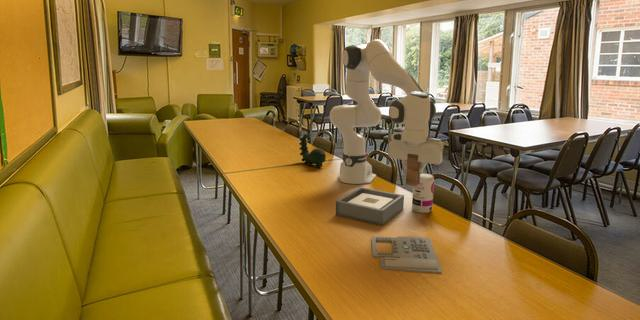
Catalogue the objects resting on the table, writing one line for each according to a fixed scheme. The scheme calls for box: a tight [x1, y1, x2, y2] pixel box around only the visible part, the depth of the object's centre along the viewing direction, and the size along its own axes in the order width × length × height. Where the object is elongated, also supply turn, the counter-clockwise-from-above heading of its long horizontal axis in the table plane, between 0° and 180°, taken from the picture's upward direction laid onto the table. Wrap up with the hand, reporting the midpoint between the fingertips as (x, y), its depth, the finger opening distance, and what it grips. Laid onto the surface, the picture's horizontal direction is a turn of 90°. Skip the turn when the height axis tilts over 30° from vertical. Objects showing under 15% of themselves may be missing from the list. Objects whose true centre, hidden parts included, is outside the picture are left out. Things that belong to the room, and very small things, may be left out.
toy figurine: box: [298, 133, 327, 169], centre depth 239 cm, size 9×19×25 cm
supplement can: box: [411, 172, 435, 214], centre depth 167 cm, size 8×8×15 cm
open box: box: [335, 186, 405, 227], centre depth 166 cm, size 22×20×6 cm
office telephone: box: [371, 235, 443, 274], centre depth 130 cm, size 23×3×20 cm
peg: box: [405, 154, 422, 187], centre depth 153 cm, size 4×4×12 cm
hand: (413, 172), depth 153 cm, fingers closed on peg, 4 cm apart
